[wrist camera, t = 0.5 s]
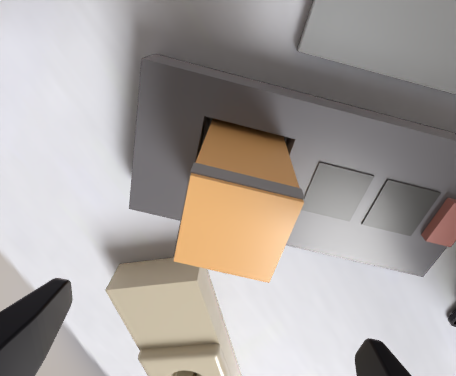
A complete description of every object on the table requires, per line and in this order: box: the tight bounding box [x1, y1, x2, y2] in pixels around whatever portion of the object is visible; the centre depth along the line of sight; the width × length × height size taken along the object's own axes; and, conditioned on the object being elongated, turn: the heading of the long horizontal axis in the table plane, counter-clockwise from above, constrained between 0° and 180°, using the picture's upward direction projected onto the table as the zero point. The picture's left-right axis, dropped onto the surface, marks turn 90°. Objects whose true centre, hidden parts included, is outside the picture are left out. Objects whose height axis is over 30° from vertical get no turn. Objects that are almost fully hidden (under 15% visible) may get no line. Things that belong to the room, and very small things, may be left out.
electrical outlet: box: [105, 258, 242, 376], centre depth 27 cm, size 7×4×18 cm
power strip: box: [129, 54, 456, 277], centre depth 18 cm, size 24×9×3 cm, turn 77°
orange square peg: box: [173, 118, 305, 283], centre depth 15 cm, size 4×4×8 cm
